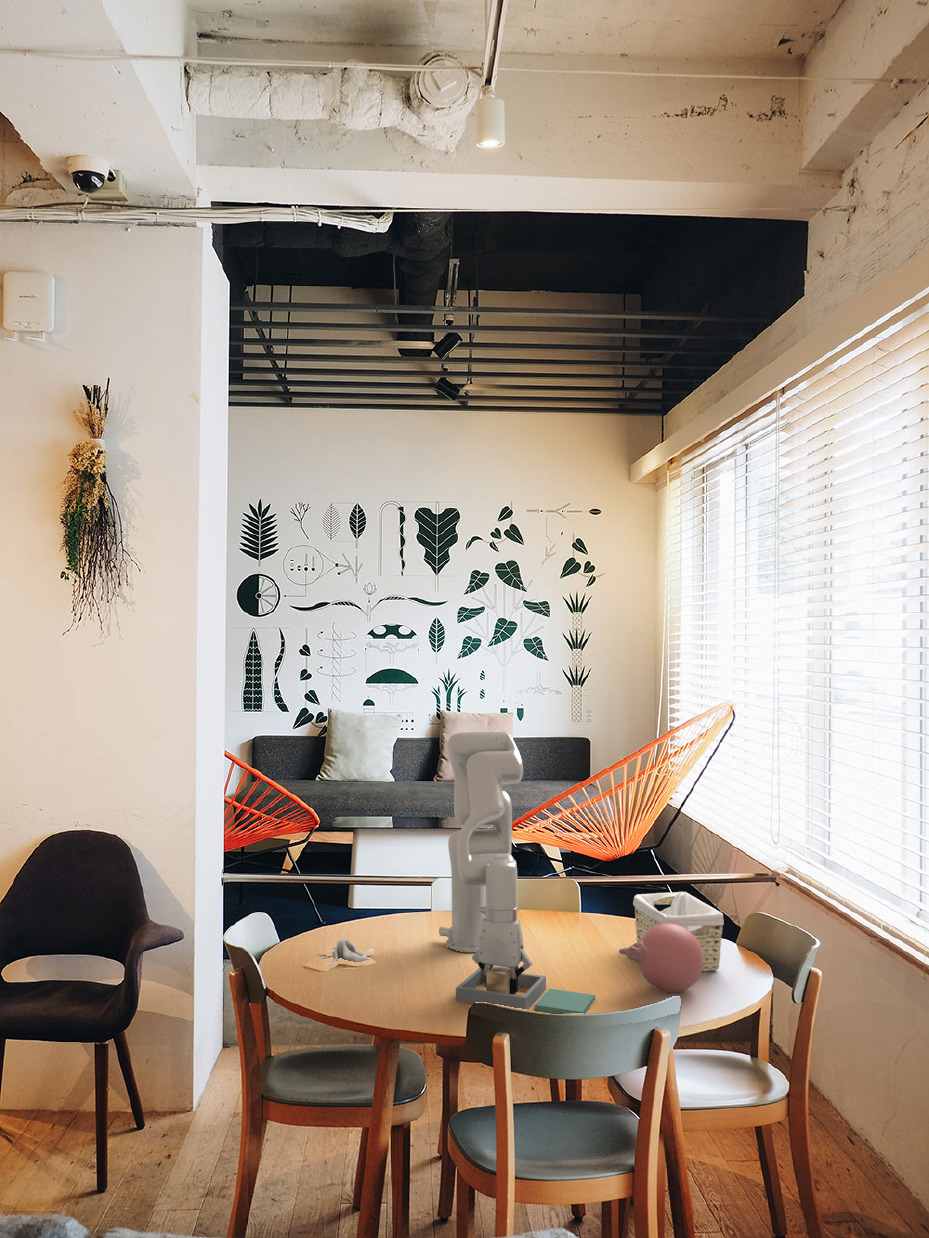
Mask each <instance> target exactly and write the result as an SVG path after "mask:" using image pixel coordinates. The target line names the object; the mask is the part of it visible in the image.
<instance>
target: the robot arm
mask: <svg viewBox="0 0 929 1238" xmlns="http://www.w3.org/2000/svg"><path fill="white" fill-rule="evenodd" d="M520 753H521V752H520V750H519V749H518V747H517V745H516V742H515V740H514V737H512V736H511V734H509V733H508V732H504V731H475V732H474V731H471V732H470V731H469V732H458V733H455V734H453V735H451V736H450V737H449V738H448V741H447V754H448V758H449V762H450V765H451V767H452V770H453V776H454V780H453V781H454V782H453V783H454V784H453V785H454V791H453V797H454V799H453V806H454V807H453V810H454V819H455V820H456V822H457V823H458V824H459V825H462V827H461V829H460V830H456V831H454V832H452V833H451V835H450V836H449V837H448V843H447V845H448V854H449V861H450V873H451V926H450V927H446V926H439V928H438V934H439V936H441V937H447V940H446V941H445V944H446V945H447V946H448V947H449V948H450V949H449V948H448V947H447V946H446V945H445V946H446V947H447V948H448V949H449V950H451V949H453V950H452V951H454V950H456V951H455V952H458V951H460V953H474V954H473V955H472V956H471V959H472V961H473V962H474V963H476V965H477V966H478V968H481V970H482V971H483V974H484V975H485V982H484V983H485V985H484V986H485V987H484V988H486V972H488V971H489V970H490V969H491V968H492V967H493V966H494V965H496V966H503V967H509V969H510V973H511V979H510V994H514V995H517V992H519V987H518V976H519V975H520V974H521V973H524V972H525V971H527V970H528V969H529V968H531V966H532V965H533V963H532V961H531V959H530V958H529V957H528V955H527V954H526V952H525V948H524V935H523V930H522V925H521V924H522V923H521V921H520V919H518V868H517V867H518V866H517V861H516V859H514V856H512V846H513V845H512V843H513V842H512V841H513V839H512V837H513V805H512V800H511V797H510V795H509V794H508V792H507V791H505V790H503V785H506V784H518V783H520V782H521V780H522V779H523V776H524V765H523V760H522V756H521V754H520ZM482 826H494V827H493V828H480V827H482ZM521 962H522V965H521V966H519V965H520V963H521Z"/></svg>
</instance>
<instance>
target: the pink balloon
mask: <svg viewBox="0 0 929 1238" xmlns="http://www.w3.org/2000/svg"><path fill="white" fill-rule="evenodd" d="M618 953H619V955H620V954H621V955H625V956H626V958H627V959H628V961H630V962H633V961H635V962H636V963H637V965H638V967H639V971H640V972H641V974H642V976H643V977H644V978H645V980H646V981H647V982H648V983H649V984H650V985H651V986H653V987H654V988H656V989H657V990H659V991H662V992H665V993H680V992H684V991H686V990H688V989H690V988H691V987H692V986H694V985H695V984H696V983H697V981H698V980H699V979H700V977H701V975H702V972H703V971H702V969H703V963H704V958H703V952H702V948H701V946H700V944H699V942H698V940H697V939H696V938H695V936H694V935H693V934H692V933H691V932H690V931H688V930H687V929H685V928H684V927H681V926H679V925H676V924H660V925H657V926H655V927H653V928H651V929H650V930H649V931H647V932H646V933H645V935H644V936H643V937H642V938H641V939H640V940H639V941H638V942H637V941H636V942H634V943H633V944H632V945H630V946H629V947H623V948H620V949H619V950H618Z"/></svg>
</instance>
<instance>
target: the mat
mask: <svg viewBox="0 0 929 1238" xmlns="http://www.w3.org/2000/svg"><path fill="white" fill-rule="evenodd" d="M595 1001H596V994H591V993H590V994H589V993H583V992H576V991H568V990H564V989H563V990H562V989H557V988H556V989H555V988H548V990H547V991H546V992H544V994H543V995H542V996H541V998H540V999H539V1000H538V1001H537V1002H536V1003H535V1004H534V1009H535V1011H542V1012H551V1013H556V1012H557V1014H562V1013H585V1014H586V1013H587V1011H588V1010H589V1008H590V1007H591V1006H592V1005H591V1004H593V1003H594V1002H595Z"/></svg>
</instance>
